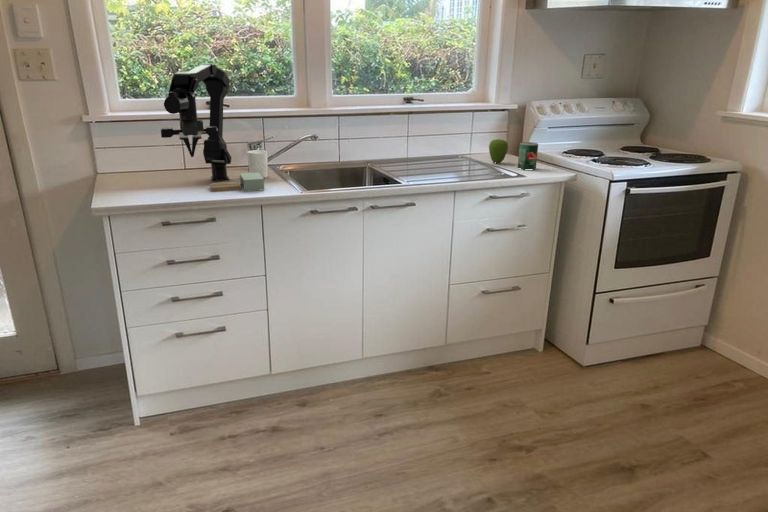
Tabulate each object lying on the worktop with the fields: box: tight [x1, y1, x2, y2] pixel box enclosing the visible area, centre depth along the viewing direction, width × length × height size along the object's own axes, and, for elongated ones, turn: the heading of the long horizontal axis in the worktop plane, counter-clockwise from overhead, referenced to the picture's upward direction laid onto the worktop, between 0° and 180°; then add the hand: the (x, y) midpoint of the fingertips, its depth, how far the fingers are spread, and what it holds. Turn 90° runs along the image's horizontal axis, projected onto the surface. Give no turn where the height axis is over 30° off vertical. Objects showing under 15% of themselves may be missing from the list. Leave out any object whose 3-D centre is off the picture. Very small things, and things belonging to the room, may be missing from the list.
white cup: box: [246, 149, 269, 179], centre depth 232 cm, size 8×8×10 cm
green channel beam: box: [239, 172, 265, 192], centre depth 215 cm, size 12×7×4 cm, turn 20°
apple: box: [488, 138, 509, 164], centre depth 266 cm, size 9×8×12 cm
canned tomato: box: [517, 141, 539, 170], centre depth 255 cm, size 8×8×11 cm
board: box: [210, 181, 242, 192], centre depth 212 cm, size 7×10×2 cm
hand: (192, 156), depth 205 cm, fingers closed
